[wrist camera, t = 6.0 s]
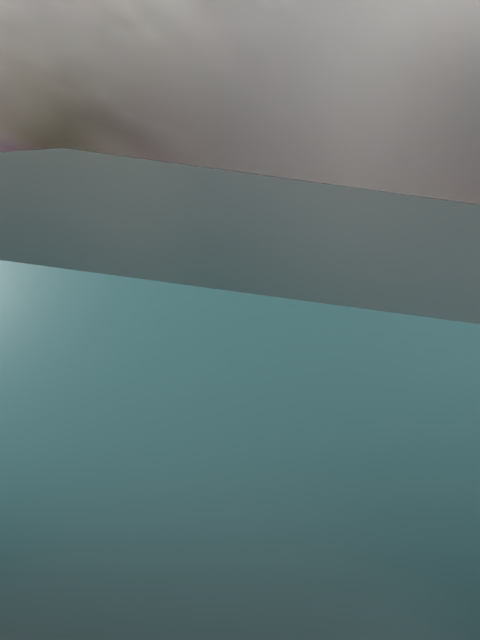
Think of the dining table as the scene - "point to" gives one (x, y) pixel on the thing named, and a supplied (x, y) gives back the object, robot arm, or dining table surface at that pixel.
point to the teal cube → (234, 406)
